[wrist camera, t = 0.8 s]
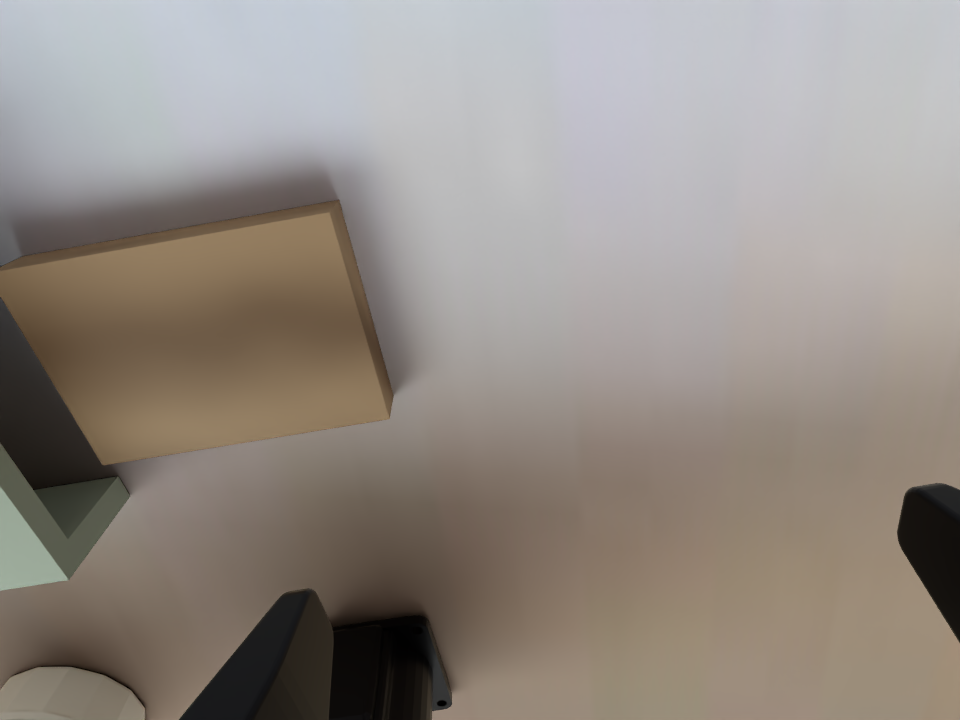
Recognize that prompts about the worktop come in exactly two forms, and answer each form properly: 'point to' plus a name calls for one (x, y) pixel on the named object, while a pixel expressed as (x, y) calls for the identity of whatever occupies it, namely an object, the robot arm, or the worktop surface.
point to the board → (205, 333)
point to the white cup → (67, 696)
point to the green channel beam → (50, 525)
